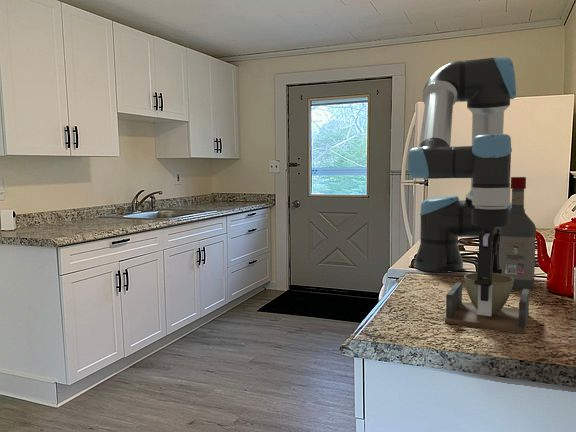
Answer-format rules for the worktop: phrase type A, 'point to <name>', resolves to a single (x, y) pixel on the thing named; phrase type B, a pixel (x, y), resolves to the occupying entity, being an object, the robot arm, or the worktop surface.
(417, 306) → the worktop surface
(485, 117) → the robot arm
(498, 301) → the flower pot
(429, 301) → the worktop surface
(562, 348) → the worktop surface
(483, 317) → the cradle
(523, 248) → the liquor
